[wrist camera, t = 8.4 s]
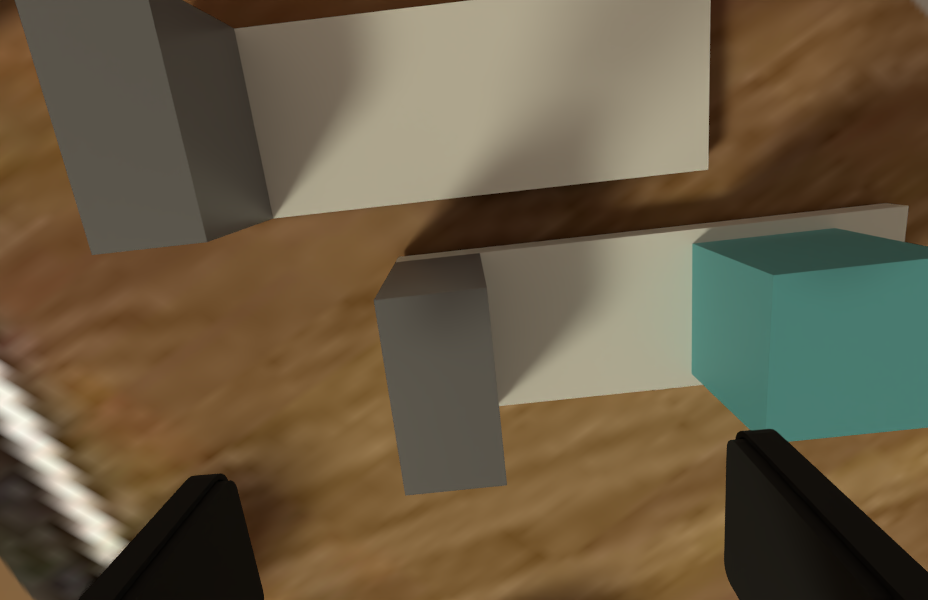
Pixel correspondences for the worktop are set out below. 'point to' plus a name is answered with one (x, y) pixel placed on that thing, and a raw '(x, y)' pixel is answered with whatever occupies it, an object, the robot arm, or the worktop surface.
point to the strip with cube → (548, 330)
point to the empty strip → (358, 106)
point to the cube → (813, 331)
